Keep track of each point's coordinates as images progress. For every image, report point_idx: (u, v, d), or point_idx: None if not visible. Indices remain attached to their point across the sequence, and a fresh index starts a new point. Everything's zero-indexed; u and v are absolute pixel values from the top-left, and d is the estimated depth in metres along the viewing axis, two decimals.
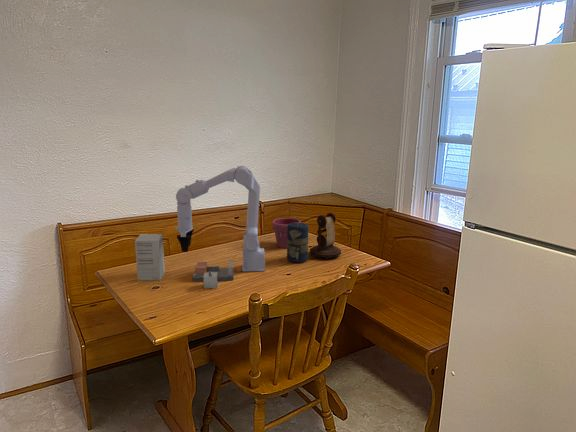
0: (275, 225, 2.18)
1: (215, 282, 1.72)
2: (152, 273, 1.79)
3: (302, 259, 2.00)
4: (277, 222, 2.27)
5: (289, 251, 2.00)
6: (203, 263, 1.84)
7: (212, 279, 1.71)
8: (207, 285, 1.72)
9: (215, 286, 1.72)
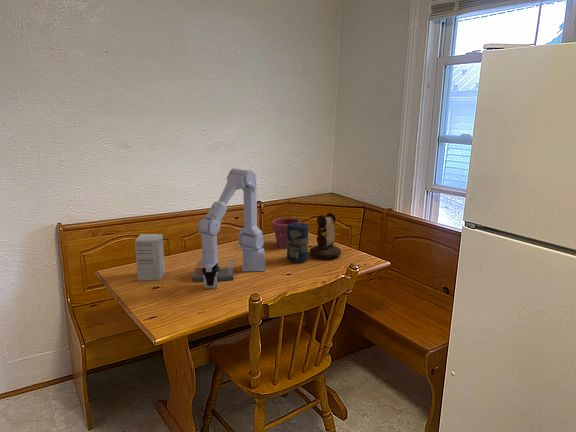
0: (275, 225, 2.18)
1: (215, 282, 1.72)
2: (152, 273, 1.79)
3: (302, 259, 2.00)
4: (277, 222, 2.27)
5: (289, 251, 2.00)
6: None
7: None
8: None
9: (215, 286, 1.72)
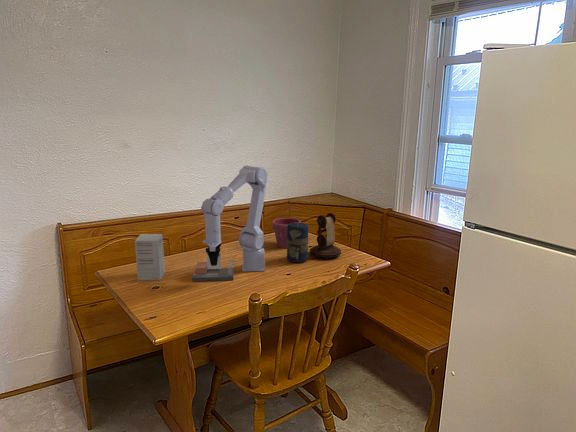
0: (275, 225, 2.18)
1: (218, 262, 1.73)
2: (152, 273, 1.79)
3: (302, 259, 2.00)
4: (277, 222, 2.27)
5: (289, 251, 2.00)
6: (203, 263, 1.84)
7: None
8: (210, 265, 1.73)
9: (218, 266, 1.74)
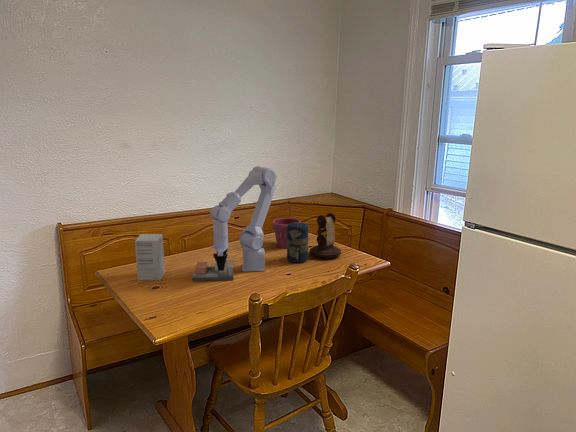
0: (275, 225, 2.18)
1: (225, 268, 1.82)
2: (152, 273, 1.79)
3: (302, 259, 2.00)
4: (277, 222, 2.27)
5: (289, 251, 2.00)
6: (203, 263, 1.84)
7: None
8: (218, 271, 1.82)
9: (225, 272, 1.82)
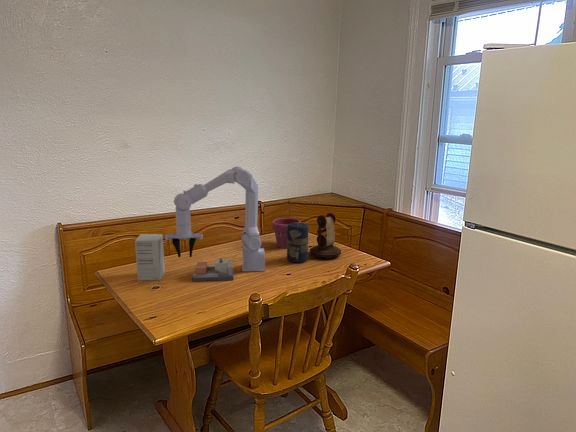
0: (275, 225, 2.18)
1: (225, 268, 1.82)
2: (152, 273, 1.79)
3: (302, 259, 2.00)
4: (277, 222, 2.27)
5: (289, 251, 2.00)
6: (203, 263, 1.84)
7: (223, 266, 1.81)
8: (218, 271, 1.82)
9: (225, 272, 1.82)
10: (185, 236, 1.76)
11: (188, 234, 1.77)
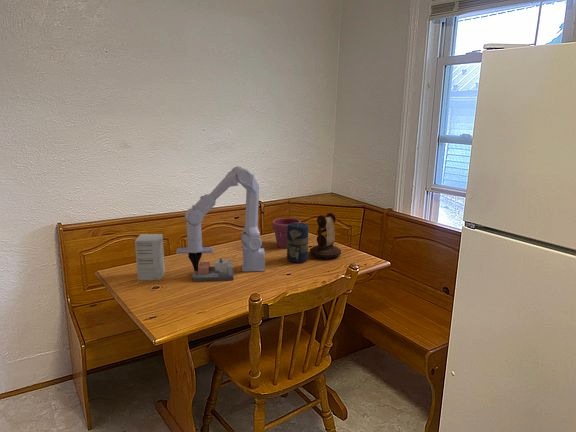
0: (275, 225, 2.18)
1: (225, 268, 1.82)
2: (152, 273, 1.79)
3: (302, 259, 2.00)
4: (277, 222, 2.27)
5: (289, 251, 2.00)
6: (206, 263, 1.84)
7: (223, 266, 1.81)
8: (218, 271, 1.82)
9: (225, 272, 1.82)
10: (196, 250, 1.78)
11: (199, 248, 1.79)
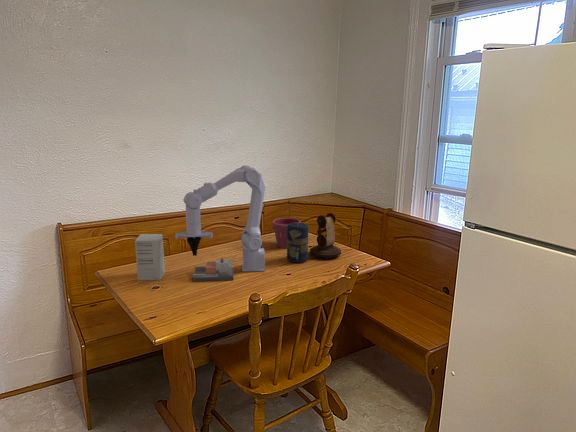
0: (275, 225, 2.18)
1: (226, 268, 1.82)
2: (152, 273, 1.79)
3: (302, 259, 2.00)
4: (277, 222, 2.27)
5: (289, 251, 2.00)
6: (213, 263, 1.85)
7: (224, 265, 1.81)
8: (219, 271, 1.82)
9: (226, 272, 1.82)
10: (195, 235, 1.77)
11: (198, 233, 1.77)
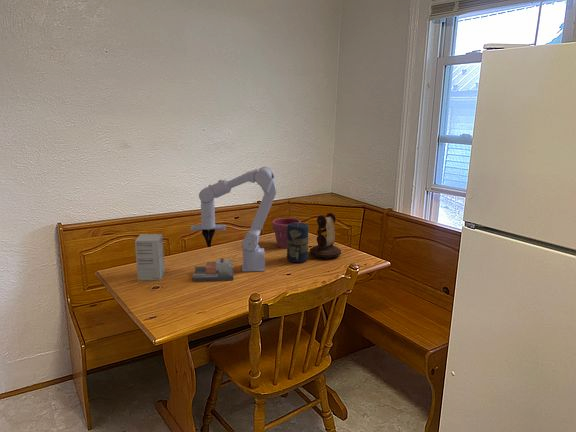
0: (275, 225, 2.18)
1: (226, 268, 1.82)
2: (152, 273, 1.79)
3: (302, 259, 2.00)
4: (277, 222, 2.27)
5: (289, 251, 2.00)
6: (213, 263, 1.85)
7: (224, 265, 1.81)
8: (219, 271, 1.82)
9: (226, 272, 1.82)
10: (210, 227, 1.88)
11: (212, 225, 1.88)
